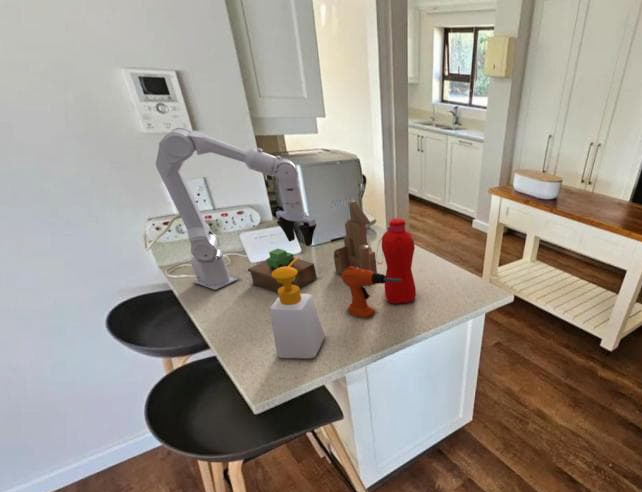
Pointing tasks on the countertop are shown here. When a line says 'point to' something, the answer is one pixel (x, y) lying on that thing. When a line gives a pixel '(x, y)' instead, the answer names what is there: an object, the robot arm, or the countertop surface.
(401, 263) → the water bottle
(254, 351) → the countertop surface
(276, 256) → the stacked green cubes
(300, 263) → the lid
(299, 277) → the wooden box
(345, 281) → the toy drill
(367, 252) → the wooden toy
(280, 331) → the soap bottle
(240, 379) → the countertop surface
